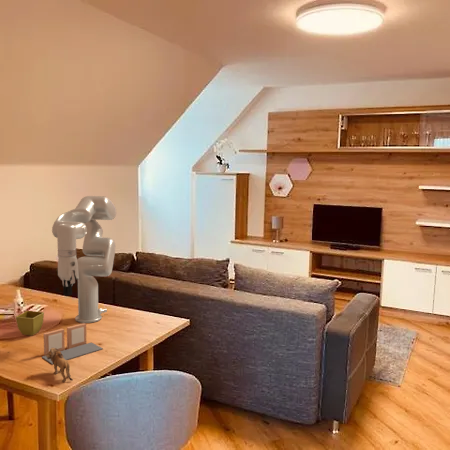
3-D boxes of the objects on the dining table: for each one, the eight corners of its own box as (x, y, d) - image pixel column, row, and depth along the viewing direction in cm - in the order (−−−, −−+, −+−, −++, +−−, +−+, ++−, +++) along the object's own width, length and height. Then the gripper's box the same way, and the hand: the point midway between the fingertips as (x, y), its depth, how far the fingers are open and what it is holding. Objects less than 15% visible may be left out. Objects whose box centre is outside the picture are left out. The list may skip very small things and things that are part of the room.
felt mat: (91, 343, 201) (91, 342, 201) (102, 349, 195) (102, 348, 195) (41, 357, 185) (41, 356, 185) (52, 364, 179) (52, 363, 179)
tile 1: (62, 349, 194) (62, 328, 193) (64, 350, 193) (64, 329, 191) (44, 354, 188) (43, 333, 187) (46, 355, 187) (45, 334, 186)
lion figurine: (44, 371, 173) (43, 348, 172) (57, 367, 177) (56, 344, 176) (66, 384, 164) (65, 360, 162) (79, 379, 168) (79, 355, 167)
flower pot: (33, 338, 205) (32, 318, 204) (15, 336, 207) (15, 316, 206) (45, 331, 214) (44, 312, 212) (28, 329, 215) (27, 310, 214)
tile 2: (84, 343, 201) (84, 323, 200) (86, 344, 200) (86, 324, 199) (67, 348, 195) (66, 327, 194) (69, 349, 194) (68, 328, 193)
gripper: (84, 254, 195) (84, 297, 197) (66, 249, 205) (67, 290, 207) (67, 256, 189) (68, 300, 192) (50, 251, 199) (51, 293, 202)
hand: (67, 294), depth 199 cm, fingers closed
